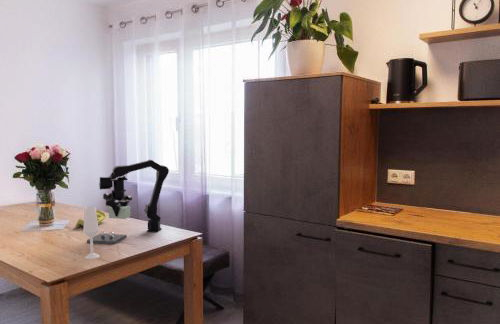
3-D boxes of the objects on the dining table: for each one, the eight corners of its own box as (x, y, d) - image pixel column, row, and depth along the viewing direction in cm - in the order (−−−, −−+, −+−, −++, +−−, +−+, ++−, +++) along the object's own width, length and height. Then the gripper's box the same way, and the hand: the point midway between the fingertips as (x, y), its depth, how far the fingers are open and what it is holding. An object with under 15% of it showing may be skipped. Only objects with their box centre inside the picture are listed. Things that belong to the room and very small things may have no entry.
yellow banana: (91, 225, 235) (77, 217, 236) (87, 235, 236) (74, 228, 237) (109, 215, 254) (96, 208, 255) (105, 224, 256) (92, 218, 256)
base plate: (126, 237, 217) (126, 229, 216) (114, 244, 204) (113, 236, 204) (100, 235, 220) (100, 228, 219) (87, 242, 207) (86, 234, 207)
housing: (130, 216, 223) (130, 206, 223) (124, 218, 218) (124, 208, 217) (114, 215, 225) (114, 205, 225) (108, 217, 220) (108, 207, 219)
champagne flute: (97, 258, 182) (95, 208, 180) (82, 259, 181) (80, 209, 179) (101, 254, 189) (99, 205, 186) (87, 254, 188) (85, 206, 186)
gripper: (115, 185, 231) (115, 210, 232) (96, 190, 212) (97, 218, 214) (132, 185, 228) (132, 211, 230) (114, 191, 210) (115, 219, 212)
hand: (119, 215), depth 221 cm, fingers closed on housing, 6 cm apart
